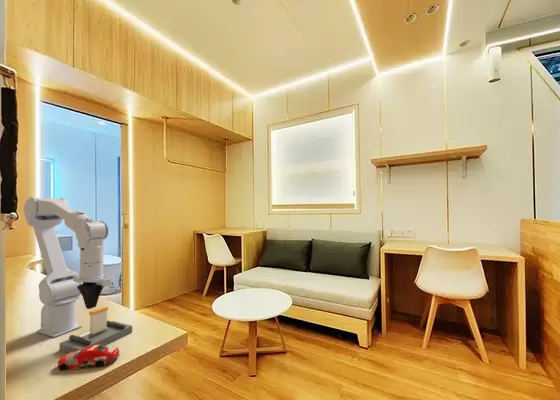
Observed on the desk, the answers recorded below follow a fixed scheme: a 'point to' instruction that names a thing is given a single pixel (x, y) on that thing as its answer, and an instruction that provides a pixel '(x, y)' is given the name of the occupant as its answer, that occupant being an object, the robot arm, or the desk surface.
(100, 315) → the lever
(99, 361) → the race car
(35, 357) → the desk surface
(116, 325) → the strip
